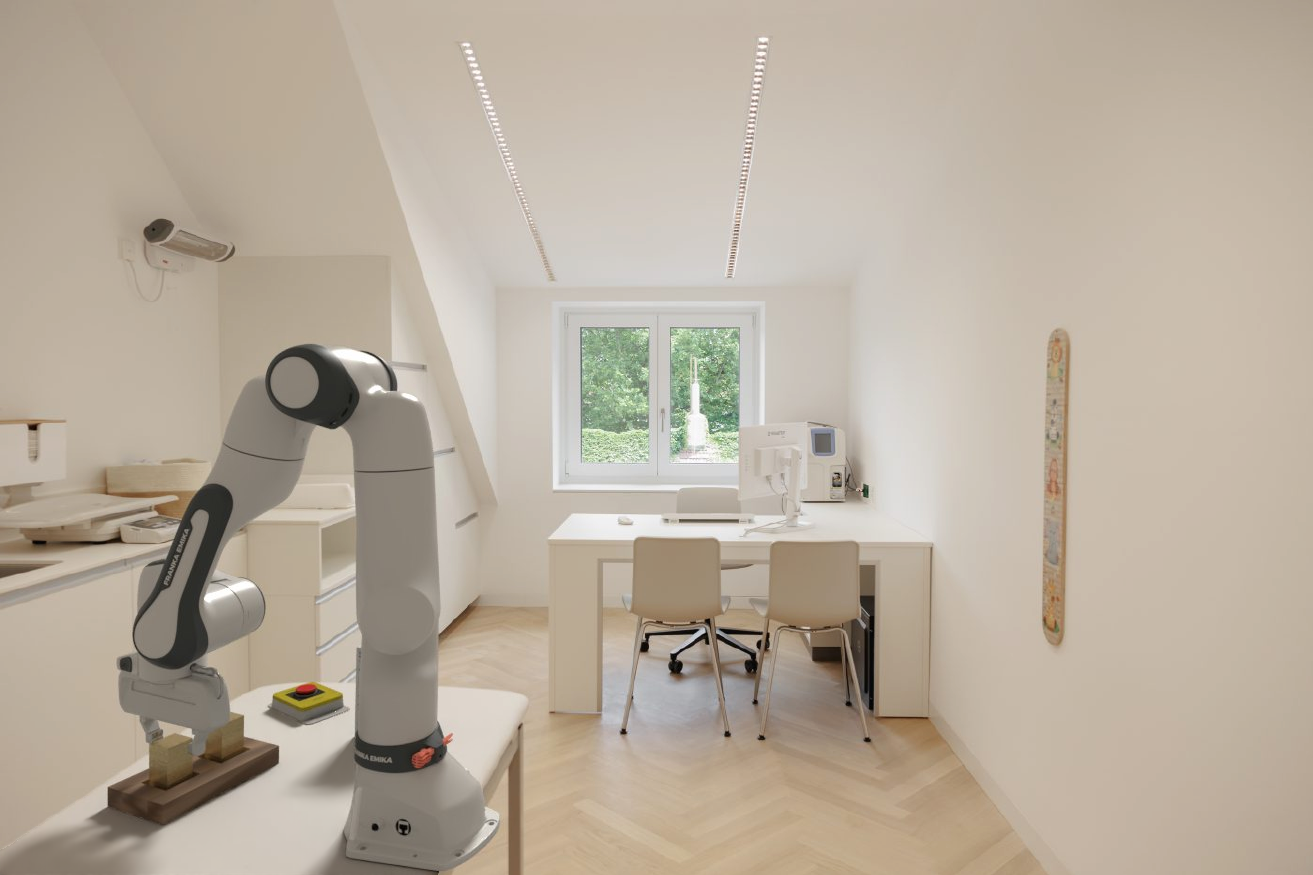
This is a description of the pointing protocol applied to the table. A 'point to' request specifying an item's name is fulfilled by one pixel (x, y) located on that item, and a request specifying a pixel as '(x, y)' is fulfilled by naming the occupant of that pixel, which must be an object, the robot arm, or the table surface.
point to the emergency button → (309, 703)
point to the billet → (170, 761)
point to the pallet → (191, 784)
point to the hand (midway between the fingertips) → (175, 747)
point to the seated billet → (226, 740)
